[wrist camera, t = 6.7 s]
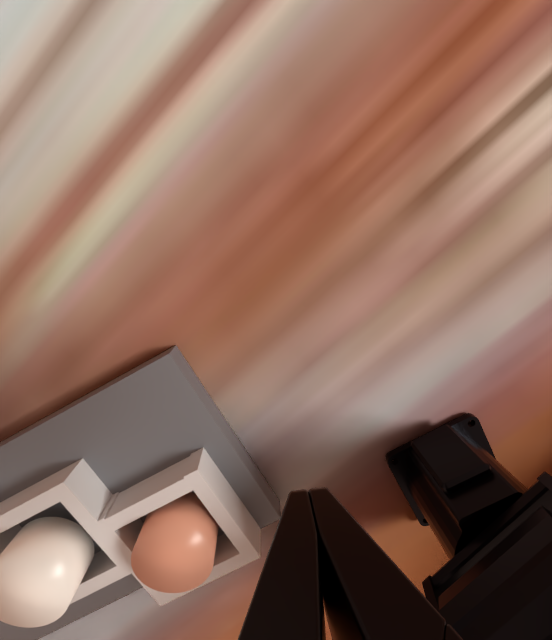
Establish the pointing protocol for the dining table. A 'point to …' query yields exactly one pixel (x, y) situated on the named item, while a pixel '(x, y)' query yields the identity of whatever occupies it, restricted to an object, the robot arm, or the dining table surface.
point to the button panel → (133, 478)
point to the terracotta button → (176, 546)
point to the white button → (42, 571)
